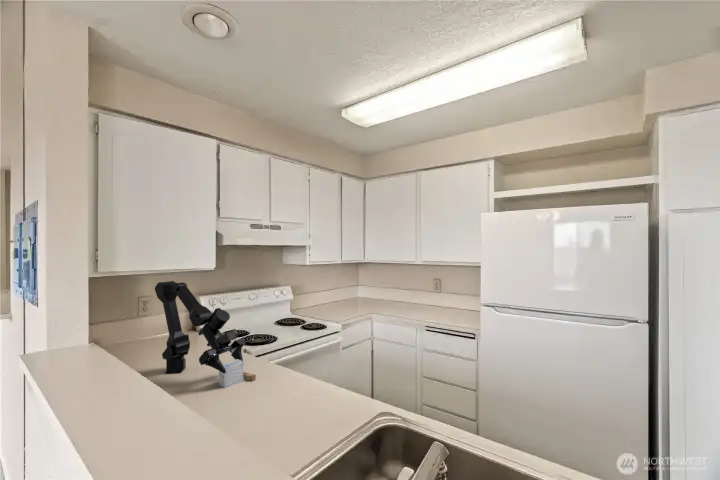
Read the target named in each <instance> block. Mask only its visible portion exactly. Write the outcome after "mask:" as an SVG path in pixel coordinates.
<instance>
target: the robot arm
mask: <svg viewBox="0 0 720 480" xmlns="http://www.w3.org/2000/svg"><path fill="white" fill-rule="evenodd" d="M154 291H155V294H156V297H157V298H158V300H159V301H161V303H162V306H163V311H164V315H165V320H166V325H167V330H168V338H167V341H166V348H165V349H164V351H163V352H162V353H161V356H162V359H163V360H165V361H166V363H165V364H166V365H165V366H166V367H165V368H166V371H165V372H164V374H165V375H169V374H172V375H173V374H181V373H182V372H183V371H184V370H185V369H186V368H187V364H186V363H187V362H186V361H187V360H186V359H187V358H185V356H187V355H188V354H189V351H190V348H191V341H190V337H189V336H190V335H188V334H185V332H183V329H182V324H181V320H180V319H181V318H180V315H179V311H178V305H177V297H178V299H179V300H180V301H181V303H182V304H183V306H184V307H185V309H186V310H187V311H188V313H189V315H188V318H189V321H190V322H191V324H192V325H193V326H194V327H200V328H199V331H198V336H203V337H204V338H205V340H206V341H207V344H206V346H207V347H210V348H209V349H206V350H204V351H203V353H202V354H201V355H200V356H199V357H198V362H199V364H200V366H203V365H205V366H206V367H207V366H208V367H210V368H213V369H215V370H217V371H218V372H219V371H220V372H222V373H225V372H226V370H225V368H224V366H223V363H222V361H221V360H220V355H221V354H224V353H227V352H230V353H231V357H232V358H233V360H236V359H239V360H241V361H243V362H244V359H243V353H242V348H243V347H244V345H245V344H246V341H245V340H244V338H238V339H237V337H238V336H239V332H238V331H237V329H236V328H233V329H231V330H229V332H228V333H225V332H221V331H220V330H221V329H222V328H223V327H224V326H225V325H226V324H227V323H228V321H230V318H231V316H230V313H229V312H228V311H226V310H224V309H222V308H221V307H217V308H215V309H214V311H213V312H212V311H211V310H210V309H209V308H208V307H206V306H204V305H202V304H201V303H200V302H199V301H198V300H197V298H196V297H195V296H194V294H193V293H192V292H191V290H190V289H189V288H188V285H187V283H186V282H183V281H182V282H176V281H174V280H170V281H159V282H157V283H156V285H155V286H154ZM201 326H202V327H201Z"/></svg>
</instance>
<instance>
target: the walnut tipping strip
mask: <svg viewBox="0 0 720 480" xmlns="http://www.w3.org/2000/svg"><path fill="white" fill-rule="evenodd" d="M256 378H257V376H256V374H253V373H249V372H245V371H243V381H246V382H247V381H249V382H255V381H256V380H257V379H256Z"/></svg>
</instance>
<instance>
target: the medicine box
mask: <svg viewBox="0 0 720 480" xmlns="http://www.w3.org/2000/svg"><path fill="white" fill-rule="evenodd" d="M222 364H223V366H224V368H225V370H226V372H225V373H222V372H220V371H219V370H218V375H219V376H218V377H219V379H218V380H219V383H218V384H219V386H220V387H223V388H224V389H225V388H229V387H232V386H235V385H238V384H241V383H243V382H244V381H245V380H243V372H244V360H243V361H241V360H239V359H236V360H235V359H233V360H229V361H226V362H224V363H222Z"/></svg>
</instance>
